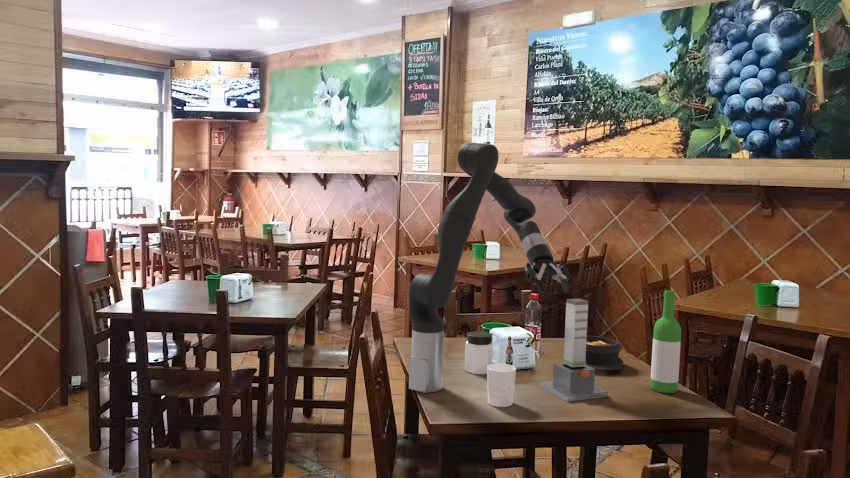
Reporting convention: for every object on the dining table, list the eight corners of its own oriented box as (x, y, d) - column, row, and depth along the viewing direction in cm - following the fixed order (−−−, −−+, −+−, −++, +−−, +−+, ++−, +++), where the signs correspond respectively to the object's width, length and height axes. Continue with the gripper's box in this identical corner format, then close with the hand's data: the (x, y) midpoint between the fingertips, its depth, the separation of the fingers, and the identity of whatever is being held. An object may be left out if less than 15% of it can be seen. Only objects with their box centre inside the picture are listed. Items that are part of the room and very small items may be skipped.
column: (586, 366, 183) (589, 301, 181) (572, 367, 181) (575, 302, 180) (576, 361, 188) (579, 298, 186) (562, 363, 186) (565, 299, 184)
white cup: (495, 396, 179) (497, 361, 178) (520, 403, 174) (521, 367, 173) (480, 403, 173) (481, 367, 172) (504, 410, 168) (506, 373, 167)
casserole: (635, 376, 203) (636, 350, 202) (578, 375, 202) (579, 349, 201) (608, 355, 228) (610, 332, 227) (557, 354, 227) (558, 331, 226)
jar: (486, 376, 198) (487, 338, 197) (461, 372, 201) (462, 335, 200) (494, 369, 206) (496, 332, 205) (470, 365, 209) (472, 329, 208)
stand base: (607, 396, 181) (609, 371, 181) (567, 401, 176) (568, 375, 175) (578, 382, 194) (579, 358, 194) (539, 386, 189) (540, 362, 188)
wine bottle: (679, 389, 190) (685, 290, 188) (675, 396, 184) (681, 293, 181) (652, 384, 194) (658, 287, 192) (647, 391, 188) (653, 290, 185)
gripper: (522, 243, 197) (541, 285, 187) (560, 242, 202) (581, 283, 193) (513, 258, 202) (530, 300, 193) (550, 257, 208) (569, 298, 198)
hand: (555, 291), depth 193 cm, fingers open, 8 cm apart
